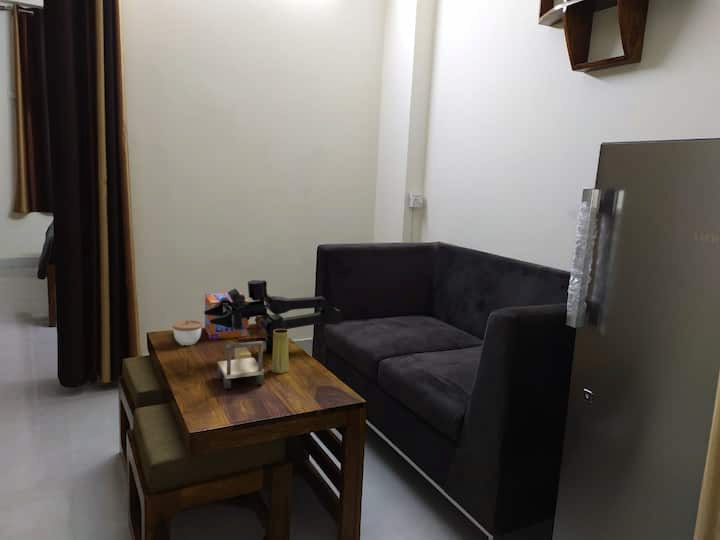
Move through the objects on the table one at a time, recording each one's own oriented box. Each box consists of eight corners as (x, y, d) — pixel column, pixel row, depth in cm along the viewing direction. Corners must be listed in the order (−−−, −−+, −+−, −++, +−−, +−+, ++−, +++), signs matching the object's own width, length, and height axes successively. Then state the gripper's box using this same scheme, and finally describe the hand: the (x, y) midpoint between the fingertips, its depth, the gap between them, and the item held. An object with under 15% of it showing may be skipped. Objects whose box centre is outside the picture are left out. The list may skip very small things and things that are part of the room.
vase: (292, 370, 187) (293, 331, 184) (278, 374, 182) (279, 334, 180) (281, 365, 191) (282, 327, 188) (267, 369, 187) (268, 330, 184)
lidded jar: (181, 338, 217) (180, 315, 215) (206, 340, 215) (206, 317, 214) (168, 346, 206) (167, 322, 205) (194, 348, 205) (194, 325, 203)
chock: (245, 358, 197) (245, 347, 196) (251, 366, 190) (251, 353, 189) (234, 359, 195) (234, 348, 194) (239, 367, 188) (239, 355, 187)
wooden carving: (247, 341, 217) (247, 317, 215) (245, 337, 221) (245, 314, 219) (287, 338, 223) (287, 315, 221) (284, 335, 227) (285, 312, 225)
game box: (204, 329, 230) (204, 293, 227) (241, 326, 236) (241, 292, 233) (210, 340, 216) (209, 302, 213) (248, 336, 222) (248, 300, 219)
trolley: (253, 372, 184) (253, 330, 181) (263, 386, 172) (264, 341, 170) (217, 376, 179) (217, 333, 176) (226, 391, 167) (226, 345, 164)
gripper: (241, 281, 203) (199, 288, 196) (256, 296, 187) (211, 304, 180) (243, 309, 206) (202, 316, 199) (258, 326, 190) (214, 334, 183)
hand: (207, 317), depth 190 cm, fingers open, 9 cm apart
